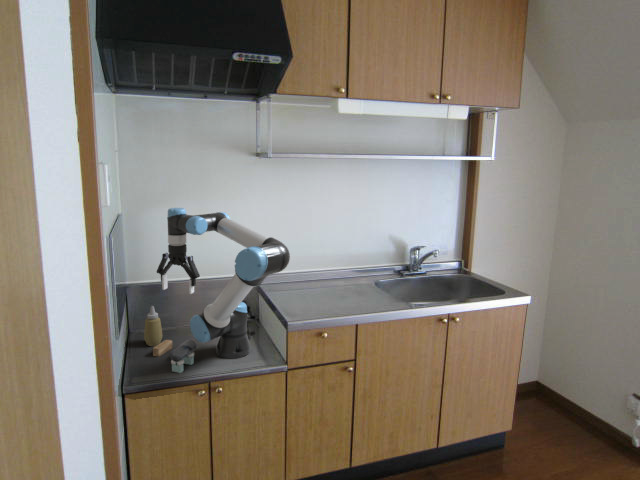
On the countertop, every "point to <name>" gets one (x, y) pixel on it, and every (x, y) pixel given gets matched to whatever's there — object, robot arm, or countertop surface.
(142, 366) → the countertop surface
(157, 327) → the squeeze bottle
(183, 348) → the dark grey rounded block
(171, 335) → the countertop surface
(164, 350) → the wooden bars with cylinder
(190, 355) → the cradle
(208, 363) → the countertop surface
